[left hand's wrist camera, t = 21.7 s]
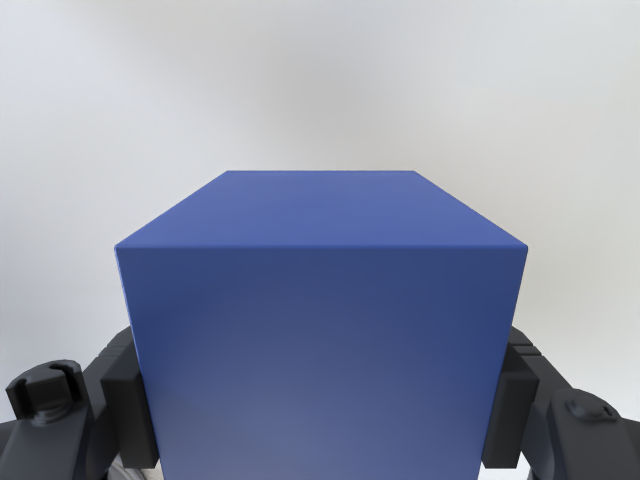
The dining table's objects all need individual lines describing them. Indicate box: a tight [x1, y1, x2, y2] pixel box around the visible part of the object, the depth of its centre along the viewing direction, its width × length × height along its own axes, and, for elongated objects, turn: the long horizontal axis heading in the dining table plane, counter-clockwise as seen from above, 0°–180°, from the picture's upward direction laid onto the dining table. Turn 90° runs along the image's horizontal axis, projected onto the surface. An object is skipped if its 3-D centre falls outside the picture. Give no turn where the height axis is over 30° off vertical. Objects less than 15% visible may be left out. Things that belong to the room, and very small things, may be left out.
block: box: [114, 171, 528, 480], centre depth 13 cm, size 9×8×9 cm
